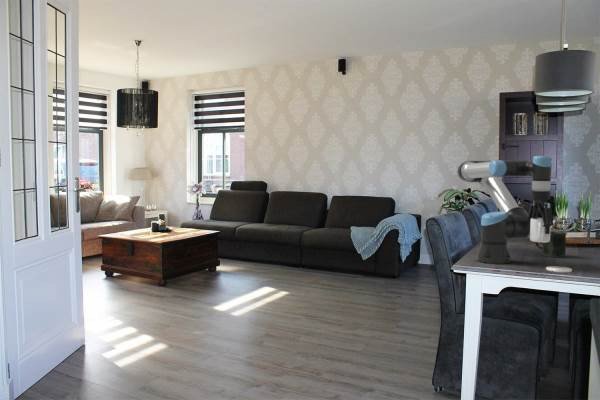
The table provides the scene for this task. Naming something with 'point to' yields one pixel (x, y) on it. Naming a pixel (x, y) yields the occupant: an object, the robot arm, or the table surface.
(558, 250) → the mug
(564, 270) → the saucer
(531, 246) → the table surface
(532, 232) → the cup
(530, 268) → the table surface
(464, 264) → the table surface
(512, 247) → the table surface
